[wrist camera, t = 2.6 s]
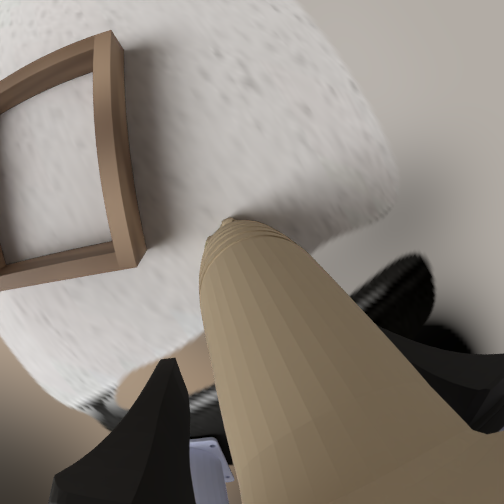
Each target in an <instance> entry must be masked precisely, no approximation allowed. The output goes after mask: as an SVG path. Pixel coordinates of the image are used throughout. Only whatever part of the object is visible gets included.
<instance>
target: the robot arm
mask: <svg viewBox="0 0 504 504" xmlns="http://www.w3.org/2000/svg"><path fill="white" fill-rule="evenodd" d="M376 326H377V325H376ZM377 327H378V328H379V329H380V330H381V331H382V332H383V333H384V334H385V335H386V336H387V338H388V339H389V340H390V341H391V342H392V343H393V344H394V345H395V346H396V347H397V349H398V350H399V351H400V352H401V353H402V354H403V355H404V356H405V358H406V359H407V360H408V361H409V362H410V363H411V364H412V365H413V367H414V368H415V369H416V370H417V371H418V372H419V373H420V375H421V376H422V377H423V378H424V379H425V380H426V382H427V383H428V384H429V385H430V386H431V387H432V388H433V389H434V390H435V391H436V392H437V393H438V394H439V395H440V397H441V398H442V399H443V400H444V401H445V402H446V403H447V404H448V405H449V406H450V407H451V408H452V409H453V410H454V411H455V412H456V413H457V414H458V415H459V416H460V417H461V418H462V419H463V420H464V421H465V422H466V423H467V425H468V426H469V427H470V428H471V429H472V430H474V431H477V432H481V433H484V434H492V433H496V432H500V431H504V354H489V355H482V354H480V355H479V354H466V353H458V352H452V351H447V350H442V349H438V348H434V347H430V346H427V345H424V344H420V343H418V342H415V341H412V340H409V339H407V338H404V337H402V336H400V335H397V334H395V333H392V332H390V331H388V330H386V329H383V328H381V327H379V326H377ZM232 481H234V476H233V474H232V472H231V470H230V468H229V466H228V464H227V461H226V459H225V457H224V455H223V452H222V450H221V448H220V446H219V443H218V441H217V439H216V438H214V437H207V438H198V439H190V407H189V397H188V391H187V388H186V386H185V383H184V380H183V378H182V375H181V372H180V370H179V367H178V364H177V361H176V358H171V359H170V358H169V359H161V360H160V361H159V363H158V365H157V366H156V368H155V370H154V372H153V374H152V375H151V377H150V379H149V380H148V382H147V384H146V386H145V387H144V389H143V390H142V392H141V394H140V395H139V397H138V398H137V400H136V401H135V403H134V404H133V406H132V407H131V408H130V410H129V411H128V413H127V414H126V415H125V417H124V418H123V419H122V420H121V422H120V423H119V424H118V425H117V426H116V427H115V429H114V430H113V431H112V432H111V433H110V434H109V435H108V436H107V437H106V438H105V439H104V440H103V441H102V442H101V443H100V444H99V445H98V446H96V447H95V448H94V449H93V450H92V451H91V452H89V453H88V454H87V455H85V456H84V457H83V458H82V459H80V460H79V461H77V462H76V463H74V464H73V465H71V466H70V467H68V468H66V469H64V470H63V471H61V472H59V473H58V474H56V475H55V476H54V479H53V484H52V489H51V493H50V497H49V502H48V504H229V501H228V496H227V490H226V485H225V482H232Z"/></svg>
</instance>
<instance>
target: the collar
mask: <svg viewBox="0 0 504 504" xmlns="http://www.w3.org/2000/svg"><path fill="white" fill-rule="evenodd" d="M90 72H93V105H94V123H95V136H96V147H97V156H98V164H99V171H100V178H101V185H102V191H103V197H104V203H105V208H106V213H107V218H108V223H109V228H110V232H111V237H112V241H110V242H105V243H100V244H96V245H91V246H86V247H81V248H77V249H72V250H68V251H63V252H59V253H54V254H50V255H46V256H41V257H37V258H33V259H29V260H25V261H20V262H16V263H12V264H8V265H6V263H5V260H4V256H3V252H2V249H1V245H0V291H4V290H10V289H15V288H21V287H26V286H32V285H38V284H43V283H49V282H55V281H60V280H66V279H72V278H77V277H83V276H89V275H95V274H100V273H106V272H112V271H118V270H123V269H129V268H135V267H137V266H138V264H139V263H140V261H141V259H142V258H143V256H144V254H145V253H146V251H147V249H146V244H145V239H144V235H143V230H142V225H141V220H140V214H139V209H138V203H137V198H136V192H135V185H134V179H133V172H132V165H131V157H130V149H129V140H128V130H127V119H126V105H125V87H124V49H123V48H122V46H121V45H120V43H119V42H118V40H117V38H116V37H115V35H114V34H113V32H112V30H109V31H106V32H103V33H100V34H97V35H94V36H91V37H88V38H86V39H83V40H80V41H78V42H75V43H73V44H70V45H68V46H66V47H63V48H61V49H59V50H56V51H54V52H52V53H50V54H48V55H46V56H44V57H42V58H40V59H38V60H36V61H34V62H32V63H30V64H28V65H26V66H25V67H23V68H21V69H19V70H18V71H16V72H14V73H13V74H11V75H9V76H8V77H6V78H4V79H3V80H1V81H0V114H2V113H3V112H5V111H7V110H8V109H10V108H12V107H14V106H16V105H17V104H19V103H21V102H23V101H25V100H27V99H29V98H31V97H33V96H35V95H37V94H39V93H41V92H43V91H45V90H47V89H50V88H52V87H54V86H56V85H59V84H61V83H63V82H66V81H68V80H71V79H74V78H76V77H79V76H82V75H84V74H87V73H90Z"/></svg>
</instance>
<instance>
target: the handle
mask: <svg viewBox="0 0 504 504" xmlns="http://www.w3.org/2000/svg"><path fill="white" fill-rule="evenodd" d="M199 295H200V308H201V314H202V320H203V325H204V331H205V335H206V341H207V346H208V351H209V356H210V361H211V366H212V371H213V376H214V380H215V385H216V390H217V395H218V400H219V405H220V409H221V414H222V419H223V423H224V427H225V432H226V436H227V440H228V444H229V448H230V452H231V456H232V460H233V464H234V468H235V472H236V476H237V479H238V483H239V487H240V492H241V500H242V504H504V431H500V432H496V433H492V434H484V433H481V432H477V431H474V430H472V429H471V428H470V427H469V426H468V425H467V423H466V422H465V421H464V420H463V419H462V418H461V417H460V416H459V415H458V414H457V413H456V412H455V411H454V410H453V409H452V408H451V407H450V406H449V405H448V404H447V403H446V402H445V401H444V400H443V399H442V398H441V397H440V395H439V394H438V393H437V392H436V391H435V390H434V389H433V388H432V387H431V386H430V385H429V384H428V383H427V382H426V380H425V379H424V378H423V377H422V376H421V375H420V373H419V372H418V371H417V370H416V369H415V368H414V367H413V365H412V364H411V363H410V362H409V361H408V360H407V359H406V358H405V356H404V355H403V354H402V353H401V352H400V351H399V350H398V349H397V347H396V346H395V345H394V344H393V343H392V342H391V341H390V340H389V339H388V338H387V336H386V335H385V334H384V333H383V332H382V331H381V330H380V329H379V328H378V327H377V326H376V324H375V323H374V322H373V321H372V320H371V319H370V318H369V317H368V316H367V315H366V314H365V313H364V312H363V311H362V309H361V308H360V307H359V306H358V305H357V304H356V303H355V302H354V301H353V300H352V299H351V298H350V297H349V295H348V294H347V293H346V292H345V291H344V290H343V289H342V288H341V287H340V286H339V285H338V284H337V283H336V282H335V281H334V280H333V279H332V277H331V276H330V275H329V274H328V273H327V272H326V271H325V270H324V269H323V268H322V267H321V266H320V265H319V264H318V263H317V262H316V261H315V260H314V259H313V258H312V257H311V256H310V255H309V253H308V252H306V251H305V250H304V249H303V248H301V247H300V246H299V245H297V244H296V243H295V242H293V241H292V240H291V239H289V238H288V237H287V236H285V235H284V234H282V233H280V232H278V231H277V230H275V229H273V228H271V227H270V226H268V225H265V224H263V223H260V222H258V221H251V220H235V219H233V218H231V217H230V218H227V219H225V220H223V221H222V224H221V226H220V228H219V229H218V230H217V231H216V232H215V233H214V234H213V235H212V236H209V237H208V238H207V240H206V244H205V249H204V253H203V256H202V261H201V267H200V274H199Z"/></svg>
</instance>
